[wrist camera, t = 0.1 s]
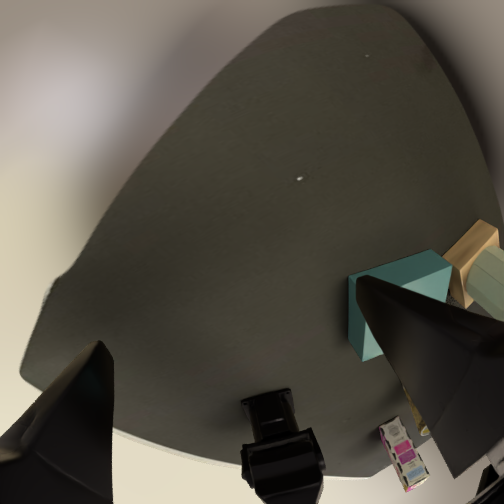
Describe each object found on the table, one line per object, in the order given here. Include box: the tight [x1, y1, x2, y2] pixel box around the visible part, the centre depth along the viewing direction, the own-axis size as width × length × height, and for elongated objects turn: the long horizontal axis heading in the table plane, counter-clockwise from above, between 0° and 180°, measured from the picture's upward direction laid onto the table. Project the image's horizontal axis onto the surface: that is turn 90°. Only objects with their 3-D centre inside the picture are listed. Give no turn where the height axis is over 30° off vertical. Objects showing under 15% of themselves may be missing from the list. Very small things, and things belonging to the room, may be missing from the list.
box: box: [348, 249, 452, 362], centre depth 28 cm, size 9×11×4 cm
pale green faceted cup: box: [466, 245, 504, 321], centre depth 24 cm, size 7×7×8 cm
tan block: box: [442, 219, 499, 309], centre depth 29 cm, size 8×8×4 cm
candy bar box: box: [379, 416, 430, 492], centre depth 41 cm, size 11×5×16 cm, turn 25°
